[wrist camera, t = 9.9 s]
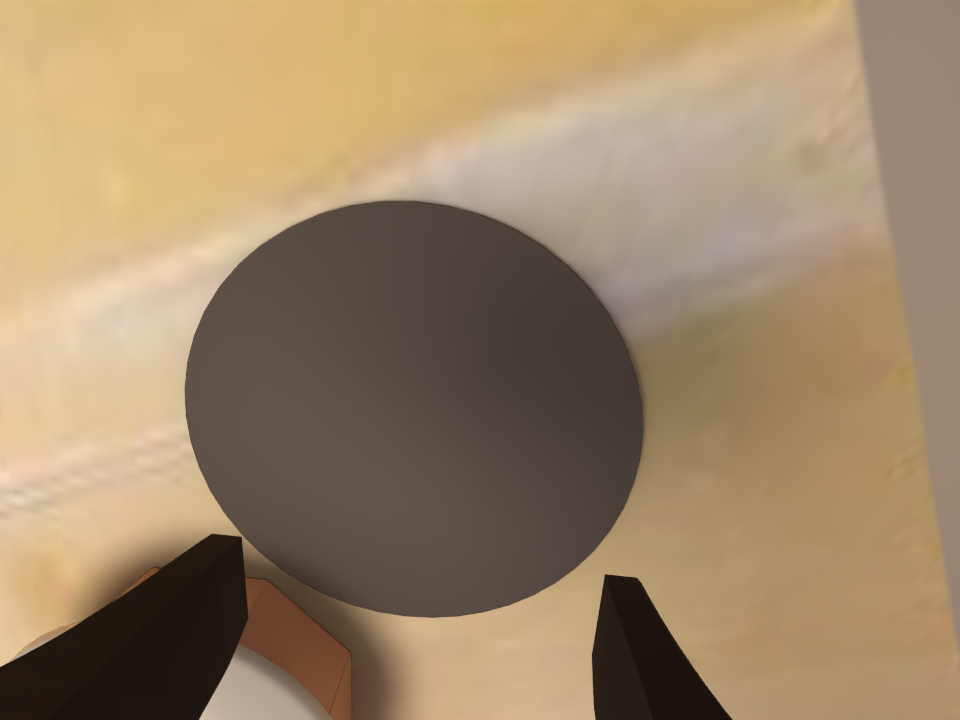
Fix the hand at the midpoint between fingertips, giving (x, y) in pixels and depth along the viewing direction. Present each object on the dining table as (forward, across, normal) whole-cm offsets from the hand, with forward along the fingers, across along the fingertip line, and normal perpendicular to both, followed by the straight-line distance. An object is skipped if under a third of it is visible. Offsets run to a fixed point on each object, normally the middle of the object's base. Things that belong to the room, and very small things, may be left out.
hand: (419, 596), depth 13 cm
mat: (+10, +2, +2) cm, 11 cm away
